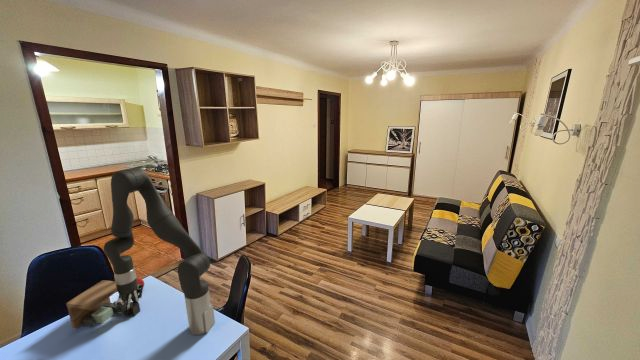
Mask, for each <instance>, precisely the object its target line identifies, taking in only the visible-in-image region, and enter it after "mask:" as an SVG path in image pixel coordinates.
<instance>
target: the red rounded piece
mask: <svg viewBox="0 0 640 360" xmlns="http://www.w3.org/2000/svg"><path fill="white" fill-rule="evenodd" d="M136 278H137V283H138V284H141V285H143V288H144V287H145V281H144V279H142V278H139V277H138V276H136Z"/></svg>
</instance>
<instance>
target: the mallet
mask: <svg viewBox="0 0 640 360" xmlns="http://www.w3.org/2000/svg"><path fill="white" fill-rule="evenodd" d="M113 303H114V302H111V303H109V302H105V303H104V304H102V305H101V306H100V307H98V308H97V309H95V310H94V311H93V312H91V313H90V314H88V315H87V316H86V317H84V318H83V319H82V326H83V327H90V328H91V327H92V326H93V325H95V322H94V321H93V318H92V314H93V313H94V312H96V311H97V310H99V309H100V308H101V307H109V308H112V311H113V313H117V314H124V315H125V312H124V311H120V310H118V309H117V308H116V307H115V305H114V304H113ZM122 305H123V304H122ZM126 306H127V305H126ZM130 310H131V315H130V316H129V317H136V316H137V315H138V314H139V313H140V312H141V307H140V302H138V303H135V302H133V301H131V303H130Z"/></svg>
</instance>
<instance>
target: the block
mask: <svg viewBox="0 0 640 360" xmlns="http://www.w3.org/2000/svg"><path fill="white" fill-rule="evenodd" d="M112 317H114V312H113V311H112V308H109V307H101V308H100V309H99V310H97V311H96V312H94V313H93V314H92V318H93V321H94V323H98V324H104V323H106V322H107V321H108V320H110V319H111V318H112Z"/></svg>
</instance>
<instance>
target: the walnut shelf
mask: <svg viewBox="0 0 640 360" xmlns="http://www.w3.org/2000/svg"><path fill="white" fill-rule="evenodd" d="M116 293H118V292H117V288H116V283H115V280H114V281H113V280H104V279H103V280H100V282H97V283H96V284H95V285H93V286H91V287H89V288H88V289H86V290H85V291H83V292H81V293H80V294H78V295H77V296H75V297H74V298H72V299H71V300H69V301H68V302H66V303H65V304H66V308H67V312H68V315H69V319H70V322H71V323H70V324H71V326H72V329H73V330H74V329H75V330H76V329H77V328H80V327H81V326H83V324H82V319H83V318H84V317H86V316H87V315H88V314H90V313H91V312H93V311H94V310H95V309H97V308H98V307H100V306H101V305H102V304H104V303H105V302H109V303H112V302H111V298H110V297H111V296H113V295H114V294H116Z"/></svg>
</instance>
